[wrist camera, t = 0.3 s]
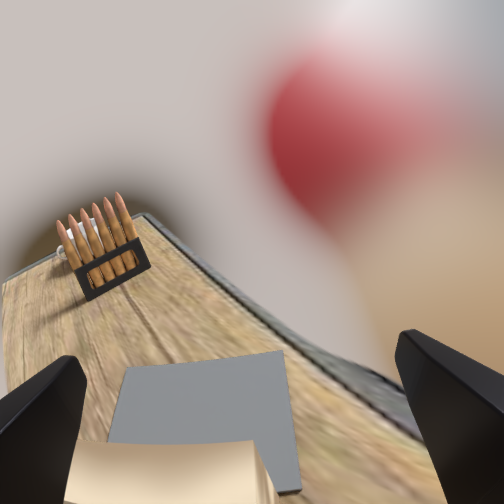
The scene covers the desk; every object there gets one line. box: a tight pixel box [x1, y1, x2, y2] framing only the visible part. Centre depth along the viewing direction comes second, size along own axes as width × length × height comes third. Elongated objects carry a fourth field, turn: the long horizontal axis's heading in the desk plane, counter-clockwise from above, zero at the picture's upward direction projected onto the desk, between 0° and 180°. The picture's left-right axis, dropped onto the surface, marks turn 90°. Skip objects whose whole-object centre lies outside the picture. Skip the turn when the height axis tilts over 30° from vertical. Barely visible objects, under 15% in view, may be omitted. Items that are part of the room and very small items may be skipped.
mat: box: [108, 350, 302, 493], centre depth 23 cm, size 13×15×1 cm
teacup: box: [57, 218, 104, 261], centre depth 52 cm, size 10×8×5 cm
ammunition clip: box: [57, 192, 151, 302], centre depth 41 cm, size 11×2×12 cm, turn 130°
